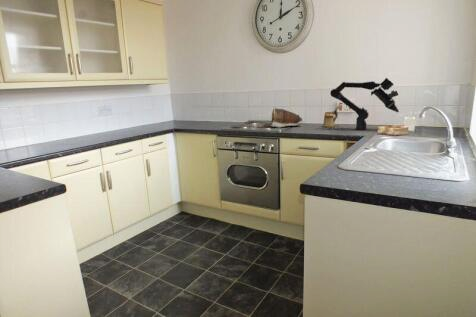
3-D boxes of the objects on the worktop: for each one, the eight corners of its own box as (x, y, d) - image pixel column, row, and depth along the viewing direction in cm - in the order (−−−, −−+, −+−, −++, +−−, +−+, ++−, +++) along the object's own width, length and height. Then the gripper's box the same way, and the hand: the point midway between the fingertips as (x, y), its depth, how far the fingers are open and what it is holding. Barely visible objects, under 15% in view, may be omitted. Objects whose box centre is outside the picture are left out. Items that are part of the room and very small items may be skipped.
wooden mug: (341, 127, 248) (342, 103, 244) (323, 127, 250) (323, 104, 246) (339, 125, 257) (340, 102, 252) (322, 125, 259) (322, 103, 255)
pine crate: (377, 133, 215) (378, 126, 213) (390, 131, 221) (390, 125, 220) (395, 136, 203) (395, 129, 202) (408, 133, 210) (408, 127, 208)
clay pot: (306, 112, 252) (275, 107, 251) (303, 131, 254) (272, 126, 253) (301, 112, 267) (272, 108, 266) (298, 131, 269) (269, 126, 267)
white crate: (404, 131, 220) (405, 118, 218) (403, 129, 226) (404, 117, 224) (414, 131, 218) (415, 118, 216) (413, 130, 223) (414, 117, 221)
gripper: (391, 87, 212) (409, 103, 210) (391, 86, 228) (407, 101, 227) (378, 99, 217) (394, 115, 215) (378, 97, 233) (393, 113, 232)
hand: (398, 111), depth 222 cm, fingers open, 9 cm apart
